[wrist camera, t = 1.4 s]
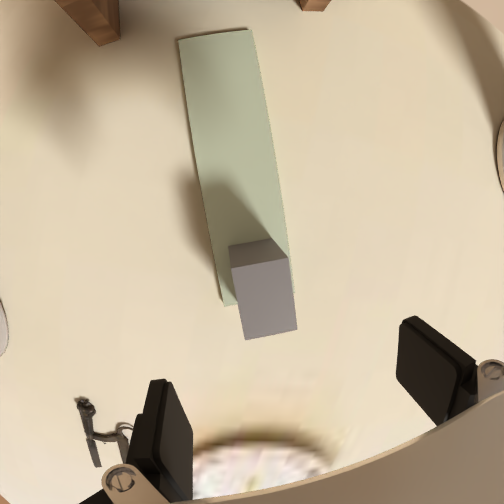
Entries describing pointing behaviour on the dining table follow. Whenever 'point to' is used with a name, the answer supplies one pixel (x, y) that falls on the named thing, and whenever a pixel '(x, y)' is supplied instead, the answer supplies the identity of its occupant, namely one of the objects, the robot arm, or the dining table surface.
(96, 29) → the bench
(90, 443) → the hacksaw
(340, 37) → the dining table surface
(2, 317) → the chalice
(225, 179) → the sage green plank
